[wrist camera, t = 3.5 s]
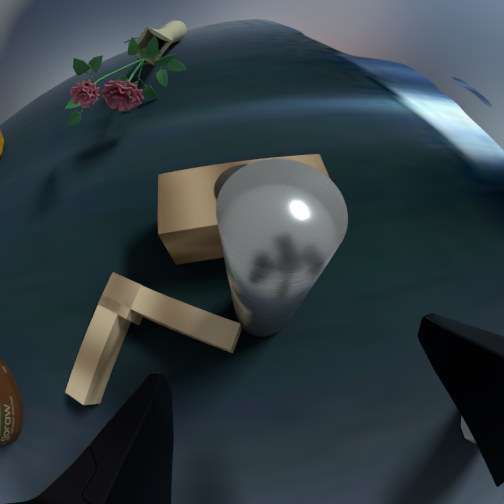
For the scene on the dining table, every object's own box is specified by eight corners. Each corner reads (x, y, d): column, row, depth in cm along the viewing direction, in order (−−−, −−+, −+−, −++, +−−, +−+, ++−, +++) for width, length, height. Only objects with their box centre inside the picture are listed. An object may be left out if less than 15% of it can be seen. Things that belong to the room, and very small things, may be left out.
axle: (259, 347, 19) (278, 299, 7) (224, 305, 20) (189, 200, 8) (301, 312, 20) (371, 216, 8) (265, 273, 21) (285, 142, 9)
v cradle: (249, 345, 19) (249, 341, 17) (88, 407, 16) (70, 408, 14) (203, 249, 22) (198, 234, 20) (61, 313, 19) (44, 305, 17)
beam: (308, 192, 24) (319, 153, 20) (324, 241, 22) (342, 206, 18) (173, 211, 23) (158, 173, 19) (176, 264, 21) (157, 233, 17)
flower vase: (194, 72, 47) (160, 164, 26) (137, 65, 44) (54, 154, 22) (209, 21, 38) (181, 49, 17) (148, 14, 35) (50, 47, 13)
